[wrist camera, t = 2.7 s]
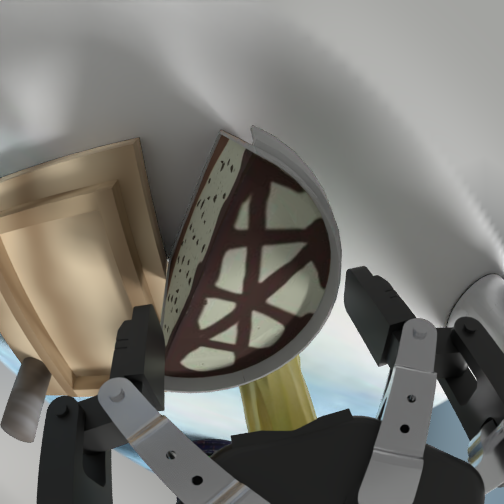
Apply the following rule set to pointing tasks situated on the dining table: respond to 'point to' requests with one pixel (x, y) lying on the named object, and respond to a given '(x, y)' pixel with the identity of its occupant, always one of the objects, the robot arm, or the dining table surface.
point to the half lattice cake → (248, 267)
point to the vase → (278, 400)
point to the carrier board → (74, 271)
